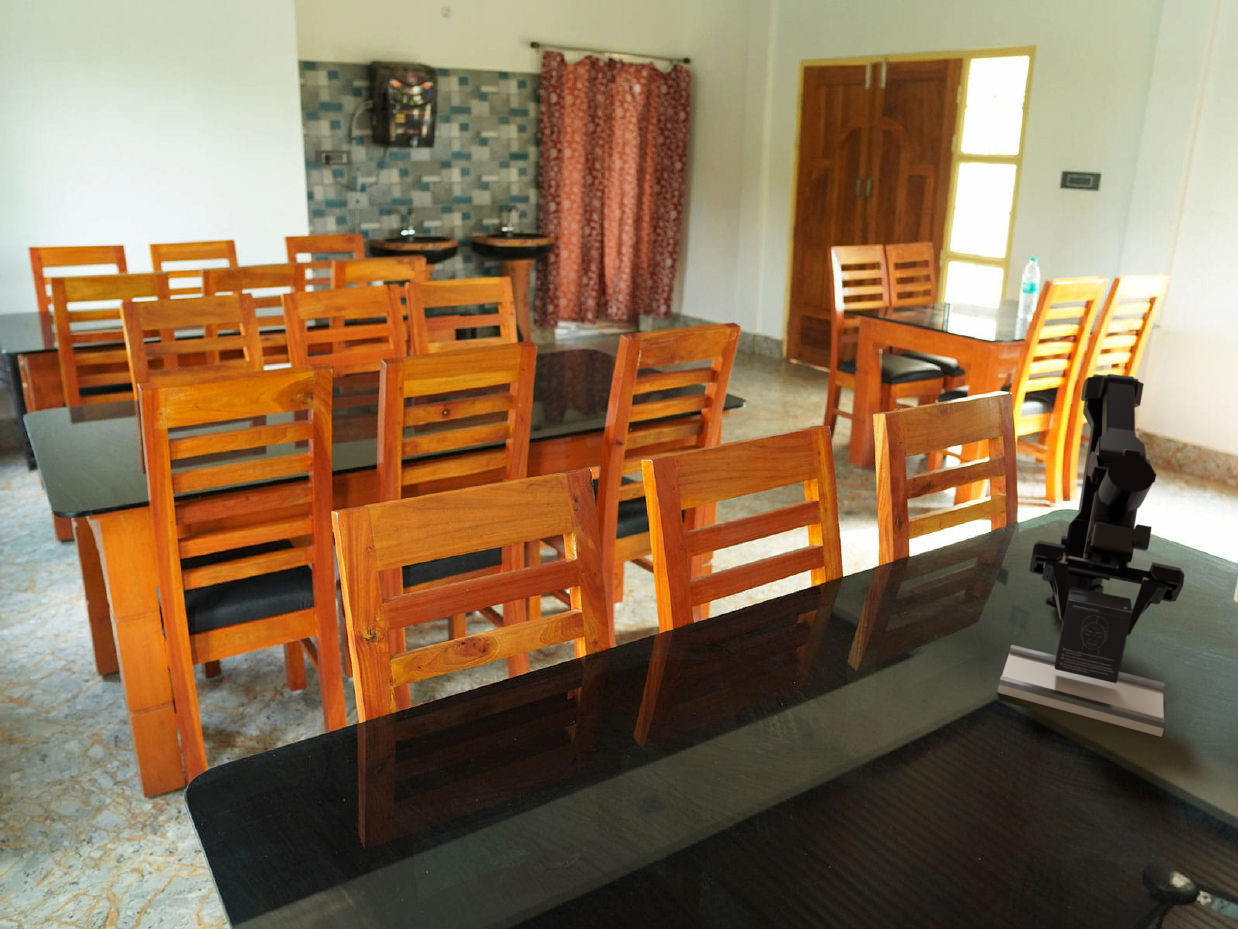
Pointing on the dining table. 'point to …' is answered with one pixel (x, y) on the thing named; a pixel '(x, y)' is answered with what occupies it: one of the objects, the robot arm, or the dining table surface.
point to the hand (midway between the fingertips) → (1094, 626)
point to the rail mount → (1084, 692)
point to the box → (1093, 634)
